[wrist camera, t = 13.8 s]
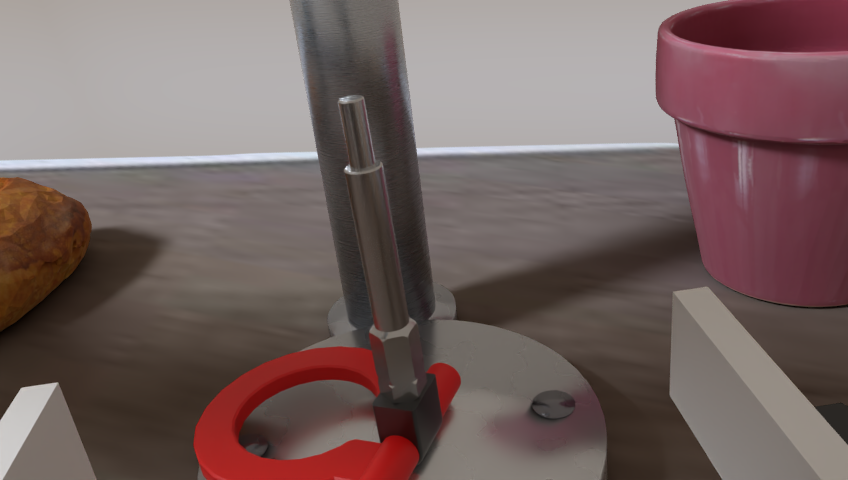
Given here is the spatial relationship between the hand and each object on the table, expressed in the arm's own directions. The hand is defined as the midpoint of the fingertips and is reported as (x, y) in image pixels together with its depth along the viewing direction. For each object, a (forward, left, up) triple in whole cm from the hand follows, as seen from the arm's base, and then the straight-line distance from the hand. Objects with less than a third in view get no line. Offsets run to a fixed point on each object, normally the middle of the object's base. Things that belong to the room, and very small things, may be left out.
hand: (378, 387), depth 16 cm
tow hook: (-3, +10, -9) cm, 13 cm away
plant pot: (+21, +20, -11) cm, 31 cm away
